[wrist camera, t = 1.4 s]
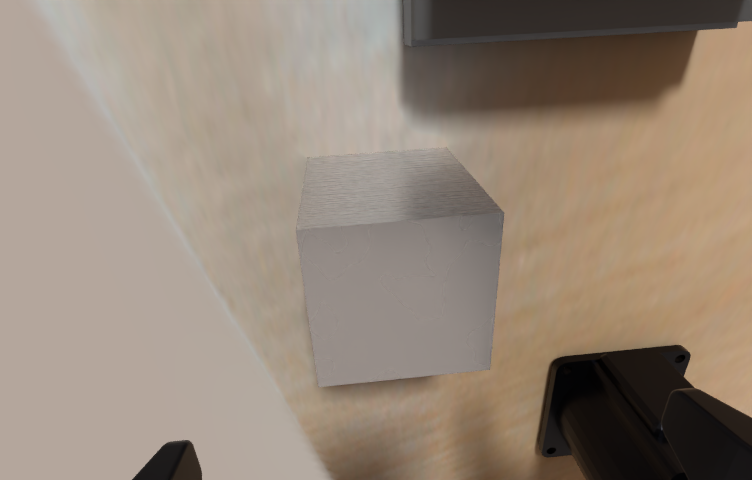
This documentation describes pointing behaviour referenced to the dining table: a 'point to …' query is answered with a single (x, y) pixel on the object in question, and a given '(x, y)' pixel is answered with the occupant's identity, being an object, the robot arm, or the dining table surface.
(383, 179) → the block
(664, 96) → the dining table surface
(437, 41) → the frame
